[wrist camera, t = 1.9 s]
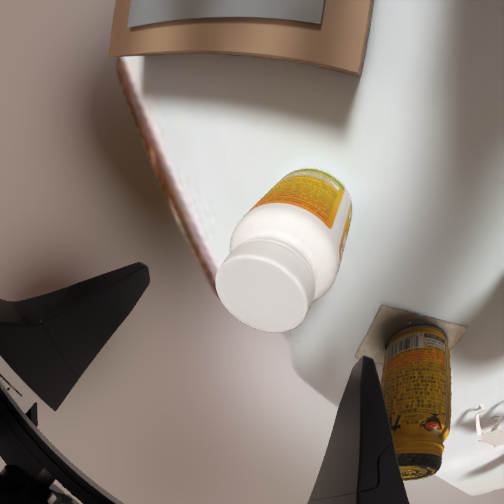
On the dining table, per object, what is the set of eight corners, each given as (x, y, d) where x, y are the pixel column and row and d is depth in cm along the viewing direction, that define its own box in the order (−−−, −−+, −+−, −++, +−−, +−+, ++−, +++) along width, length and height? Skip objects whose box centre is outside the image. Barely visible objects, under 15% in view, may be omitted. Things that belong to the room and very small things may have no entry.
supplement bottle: (261, 183, 19) (177, 258, 12) (332, 153, 16) (286, 218, 9) (296, 248, 21) (240, 347, 13) (364, 228, 18) (344, 338, 10)
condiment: (428, 373, 22) (416, 486, 13) (354, 355, 24) (320, 472, 15) (467, 325, 18) (475, 460, 8) (382, 301, 20) (357, 448, 11)
